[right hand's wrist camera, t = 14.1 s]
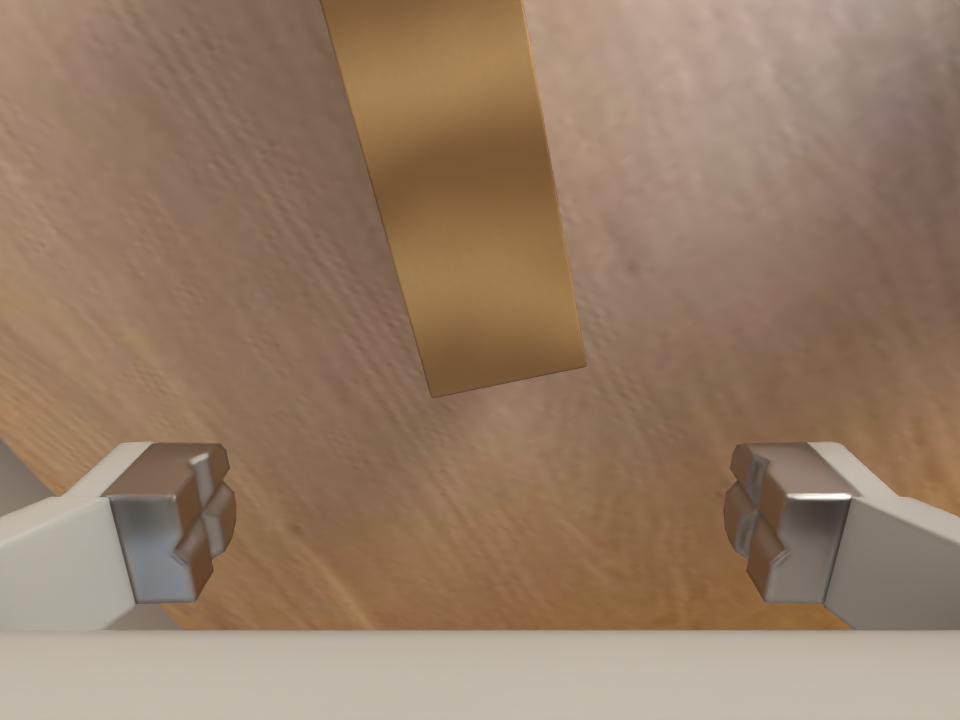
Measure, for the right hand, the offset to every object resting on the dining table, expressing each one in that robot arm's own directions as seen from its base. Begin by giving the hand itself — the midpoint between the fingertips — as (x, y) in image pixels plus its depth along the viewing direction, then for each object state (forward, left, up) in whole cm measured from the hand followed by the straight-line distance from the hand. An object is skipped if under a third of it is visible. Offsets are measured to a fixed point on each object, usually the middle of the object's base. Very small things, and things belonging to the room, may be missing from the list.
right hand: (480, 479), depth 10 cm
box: (+6, -6, -23) cm, 24 cm away
